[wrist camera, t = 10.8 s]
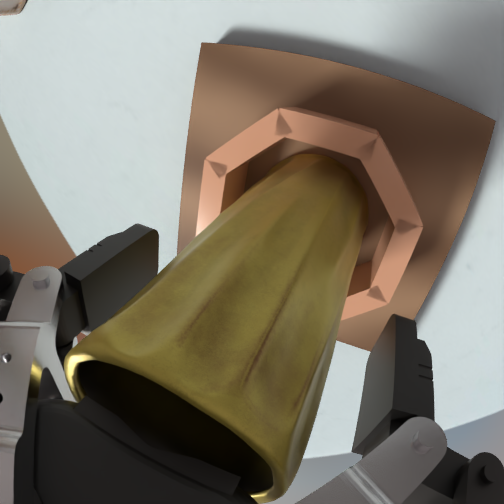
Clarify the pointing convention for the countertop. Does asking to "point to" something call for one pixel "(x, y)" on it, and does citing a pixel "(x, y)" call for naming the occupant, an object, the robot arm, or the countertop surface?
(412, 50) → the countertop surface
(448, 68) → the countertop surface
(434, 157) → the board
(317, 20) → the countertop surface
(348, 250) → the vase
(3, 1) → the decorative jar
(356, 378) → the countertop surface
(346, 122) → the holder ring
